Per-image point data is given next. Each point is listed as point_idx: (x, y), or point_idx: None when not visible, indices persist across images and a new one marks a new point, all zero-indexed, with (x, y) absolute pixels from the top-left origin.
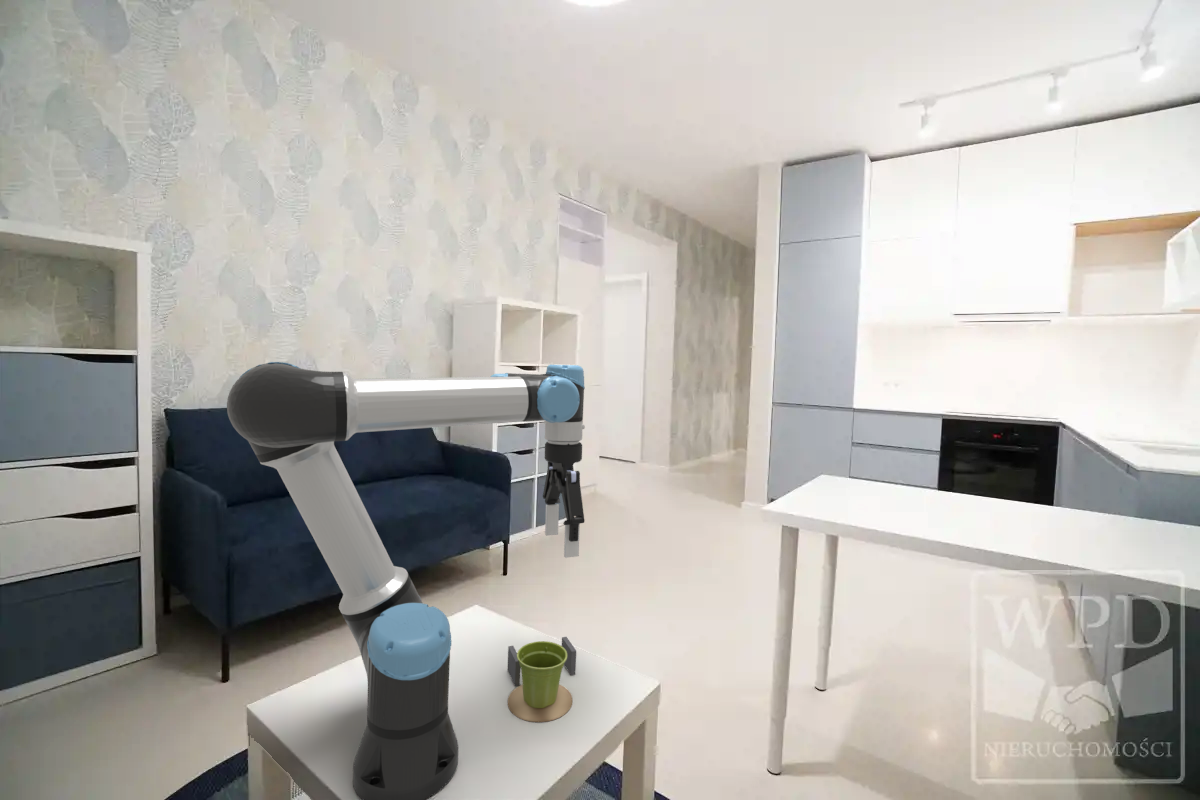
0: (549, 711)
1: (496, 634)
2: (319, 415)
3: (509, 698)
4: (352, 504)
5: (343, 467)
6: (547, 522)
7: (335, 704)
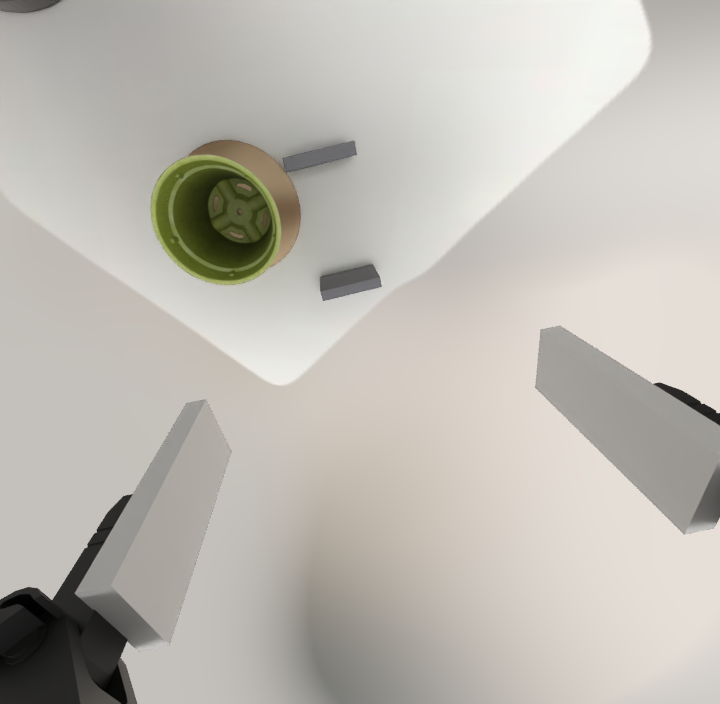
0: None
1: (505, 119)
2: None
3: (239, 144)
4: None
5: None
6: (593, 374)
7: None
